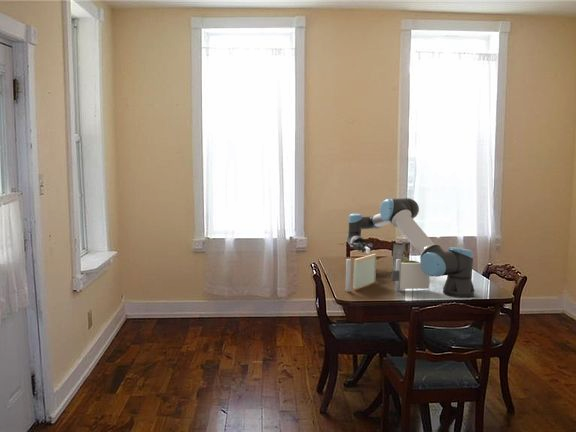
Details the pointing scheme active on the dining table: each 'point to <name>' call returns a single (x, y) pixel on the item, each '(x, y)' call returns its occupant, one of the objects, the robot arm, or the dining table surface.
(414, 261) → the plant pot
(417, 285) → the fence
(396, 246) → the coffee box
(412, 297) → the dining table surface
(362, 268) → the gate
